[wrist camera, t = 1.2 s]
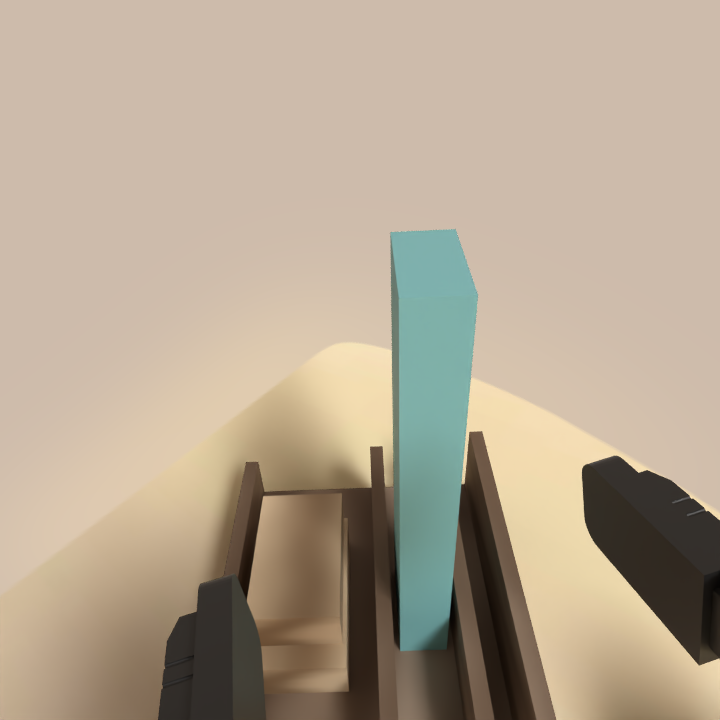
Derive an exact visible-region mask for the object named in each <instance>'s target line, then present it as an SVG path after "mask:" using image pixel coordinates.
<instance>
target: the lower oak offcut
mask: <svg viewBox="0 0 720 720" xmlns="http://www.w3.org/2000/svg"><path fill="white" fill-rule="evenodd" d="M349 608H350V540H349V529H348V518H344V579H343V644H314V645H284V646H261V650H262V662H263V678H264V694H286V693H318V692H349Z"/></svg>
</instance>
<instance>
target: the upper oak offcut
mask: <svg viewBox="0 0 720 720" xmlns="http://www.w3.org/2000/svg"><path fill="white" fill-rule="evenodd" d="M343 579H344V513H343V502H342V493H336V494H309V495H283V496H263V500H262V507H261V513H260V520H259V526H258V533H257V539H256V545H255V552H254V558H253V565H252V571H251V578H250V584H249V590H248V597H247V603H248V605H249V608H250V610H251V613H252V615H253V618H254V620H255V623H256V626H257V630H258V633H259V638H260V643H261V646H284V645H314V644H343Z"/></svg>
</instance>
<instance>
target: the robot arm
mask: <svg viewBox="0 0 720 720" xmlns="http://www.w3.org/2000/svg"><path fill="white" fill-rule="evenodd" d="M582 482H583V500H584V517H585V523H586V526H587V529H588V531H589V534H590V536H591V538H592V539H593V541H594V543H595V544H596V545H597V546H598V548H599V549H600V550H601V551H602V552H603V554H604V555H605V556H606V557H607V558H608V559H609V561H610V562H611V563H612V564H613V565H614V566H615V568H616V569H617V570H618V571H619V572H620V573H621V575H622V576H623V577H624V578H625V579H626V580H627V582H628V583H629V584H630V585H631V586H632V587H633V589H634V590H635V591H636V592H637V593H638V594H639V596H640V597H641V598H642V599H643V600H644V602H645V603H646V604H647V605H648V606H649V607H650V609H651V610H652V611H653V612H654V613H655V614H656V616H657V617H658V618H659V619H660V620H661V621H662V623H663V624H664V625H665V626H666V627H667V628H668V630H669V631H670V632H671V633H672V634H673V635H674V637H675V638H676V639H677V640H678V641H679V642H680V644H681V645H682V646H683V647H684V648H685V649H686V651H687V652H688V653H689V654H690V655H691V657H692V658H693V659H694V660H695V661H696V662H697V664H698V665H702V664H705V663H707V662H710V661H713V660H716V659H719V658H720V520H718V519H717V518H716V517H715V516H714V515H712V514H711V513H710V512H709V511H707V512H706V511H705V509H704V507H703V506H701V505H700V504H699V503H698V502H697V501H695V500H694V499H691V498H690V496H689V495H688V494H687V493H686V492H685V491H683V490H682V489H681V488H680V487H678V486H677V485H676V484H675V483H674V482H672V481H671V480H669V479H666V478H664V477H662V476H659V475H657V474H655V473H652V472H650V471H648V470H646V471H643V472H640V473H638V472H637V471H636V470H635V469H633V468H632V467H631V466H630V465H629V464H628V463H627V462H625V461H624V460H623V459H622V458H621V457H619V456H612V457H609V458H606V459H603V460H599V461H596V462H593V463H590V464H587V465H584V467H583V469H582ZM162 685H163V689H162V691H161V699H160V708H159V716H158V720H266V710H265V694H264V678H263V662H262V650H261V643H260V638H259V633H258V630H257V626H256V623H255V620H254V618H253V615H252V613H251V610H250V608H249V605H248V603H247V600H246V598H245V595H244V593H243V590H242V588H241V585H240V583H239V580H238V578H237V576H236V575H235V574H231V575H227V576H224V577H221V578H218V579H215V580H211V581H208V582H205V583H202V584H200V585H199V589H198V603H197V612H195V613H191V614H188V615H185V616H182V617H179V619H178V621H177V623H176V625H175V627H174V629H173V631H172V633H171V635H170V637H169V639H168V640H167V647H166V656H165V669H164V673H163V682H162Z"/></svg>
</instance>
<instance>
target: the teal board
mask: <svg viewBox="0 0 720 720" xmlns="http://www.w3.org/2000/svg"><path fill="white" fill-rule="evenodd" d="M477 301H478V294H477V291H476V288H475V285H474V282H473V279H472V276H471V273H470V270H469V267H468V265H467V261H466V259H465V256H464V253H463V250H462V247H461V244H460V241H459V238H458V235H457V232H456V230H455V229H453V230H452V229H451V230H430V231H407V232H391V307H392V308H391V311H392V390H393V469H394V548H395V580H396V595H397V610H398V625H399V640H400V651H416V650H447V639H448V628H449V617H450V605H451V594H452V583H453V571H454V560H455V549H456V538H457V526H458V515H459V504H460V493H461V481H462V470H463V459H464V447H465V436H466V425H467V414H468V402H469V391H470V380H471V368H472V357H473V346H474V334H475V323H476V312H477Z"/></svg>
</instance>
